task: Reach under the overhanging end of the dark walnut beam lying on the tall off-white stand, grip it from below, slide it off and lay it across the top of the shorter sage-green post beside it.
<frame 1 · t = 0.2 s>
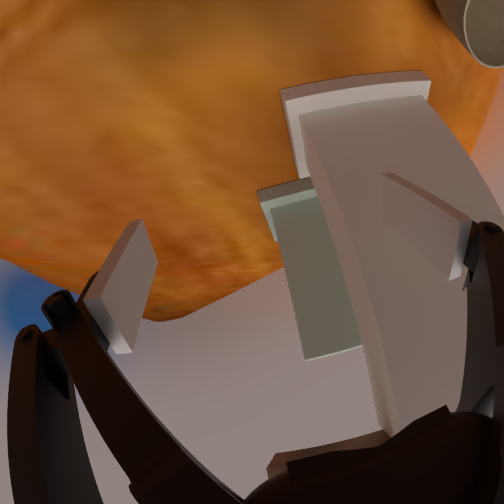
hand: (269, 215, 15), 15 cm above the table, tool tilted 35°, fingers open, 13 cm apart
tall stand: (356, 118, 28), on the table
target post: (317, 199, 42), on the table
walnut beam: (423, 421, 15), point 30 cm above the table, touching tall stand
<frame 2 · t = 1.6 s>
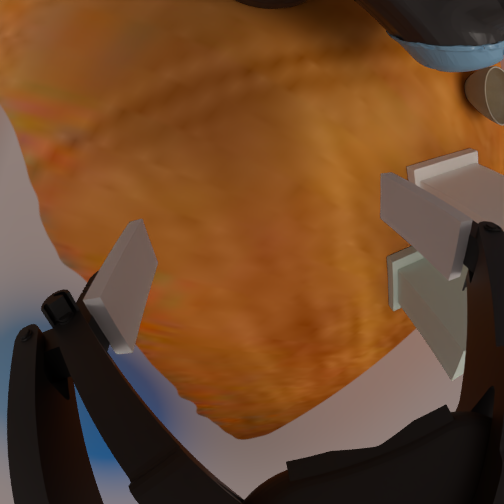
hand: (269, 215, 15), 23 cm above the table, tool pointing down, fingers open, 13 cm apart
tall stand: (444, 188, 40), on the table
beige round bowl: (471, 91, 31), on the table
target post: (421, 267, 48), on the table
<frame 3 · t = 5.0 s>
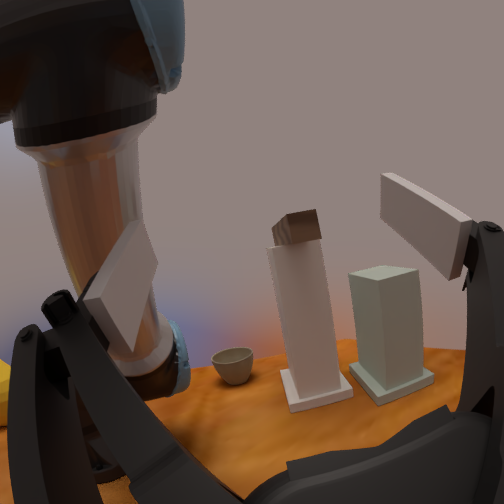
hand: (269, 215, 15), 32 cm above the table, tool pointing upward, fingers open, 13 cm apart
tall stand: (313, 387, 53), on the table
vase: (8, 419, 41), on the table
beige round bowl: (238, 381, 64), on the table
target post: (389, 378, 48), on the table
walnut beam: (293, 243, 49), point 30 cm above the table, touching tall stand
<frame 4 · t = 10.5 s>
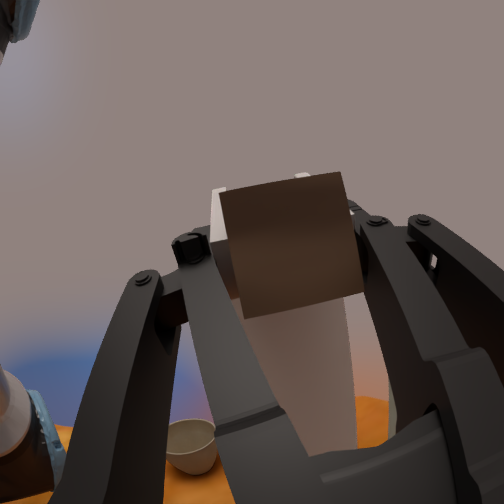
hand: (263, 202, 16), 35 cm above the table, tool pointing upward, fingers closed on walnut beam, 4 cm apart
tall stand: (311, 499, 25), on the table
beige round bowl: (198, 466, 35), on the table
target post: (433, 484, 19), on the table
walnut beam: (273, 276, 21), point 30 cm above the table, touching gripper, tall stand
when the fingers open (28 cm above the table, at t = 22.0 s): walnut beam drops 1 cm, resting on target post.
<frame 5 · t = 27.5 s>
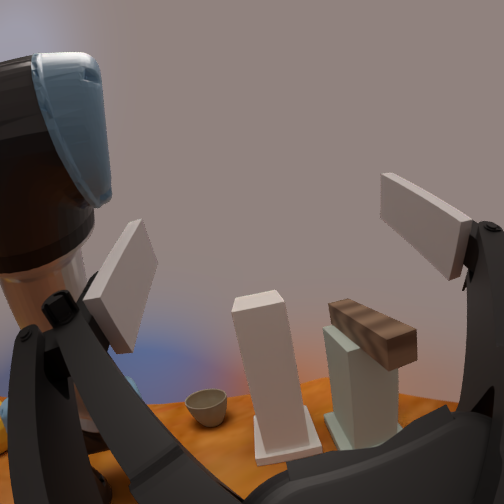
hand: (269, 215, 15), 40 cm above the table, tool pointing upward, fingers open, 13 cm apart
tall stand: (285, 437, 48), on the table
beige round bowl: (213, 422, 59), on the table
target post: (363, 432, 43), on the table
walnut beam: (365, 338, 39), point 22 cm above the table, touching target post
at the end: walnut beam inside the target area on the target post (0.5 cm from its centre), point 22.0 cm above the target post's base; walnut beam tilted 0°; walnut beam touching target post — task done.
